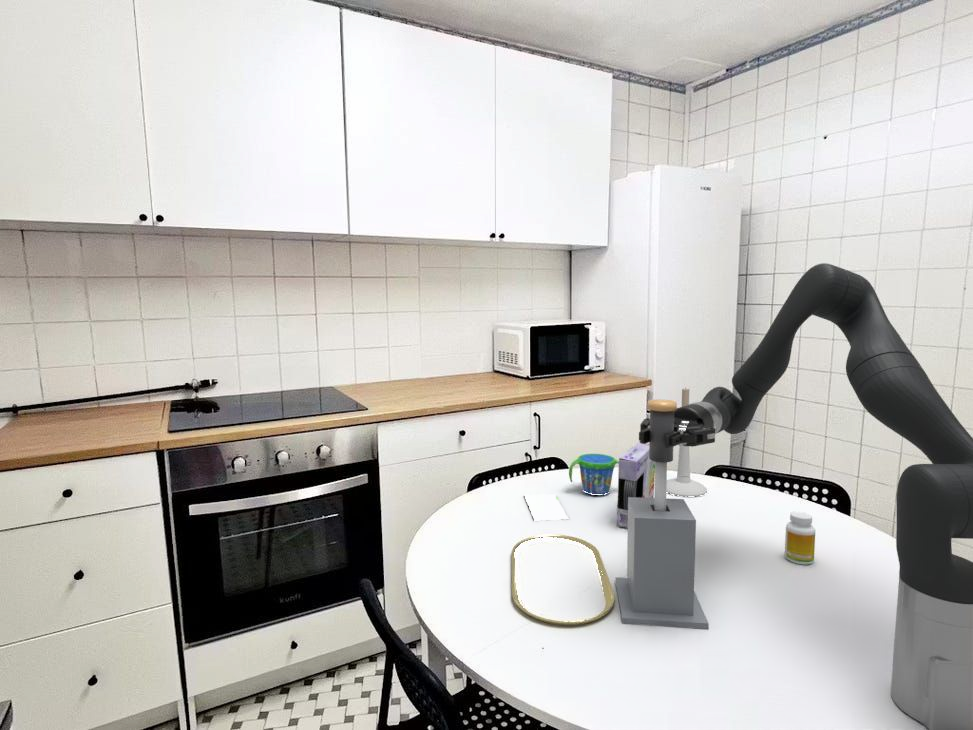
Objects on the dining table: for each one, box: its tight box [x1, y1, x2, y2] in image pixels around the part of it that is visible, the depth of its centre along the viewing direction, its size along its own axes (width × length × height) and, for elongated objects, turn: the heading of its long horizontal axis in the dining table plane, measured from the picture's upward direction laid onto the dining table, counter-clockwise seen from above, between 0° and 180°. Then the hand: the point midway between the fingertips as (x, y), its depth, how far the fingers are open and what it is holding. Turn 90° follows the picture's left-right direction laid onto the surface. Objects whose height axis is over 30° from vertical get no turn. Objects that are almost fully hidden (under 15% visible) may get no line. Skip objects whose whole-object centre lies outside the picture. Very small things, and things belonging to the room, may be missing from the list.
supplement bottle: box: [784, 511, 816, 565], centre depth 115 cm, size 5×5×10 cm
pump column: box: [614, 497, 710, 630], centre depth 98 cm, size 14×14×18 cm
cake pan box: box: [616, 440, 655, 529], centre depth 139 cm, size 19×5×18 cm, turn 148°
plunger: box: [647, 399, 678, 511], centre depth 97 cm, size 5×5×27 cm
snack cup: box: [568, 453, 619, 494], centre depth 157 cm, size 16×10×10 cm
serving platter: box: [511, 534, 616, 627], centre depth 110 cm, size 19×35×2 cm, turn 178°
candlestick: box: [666, 387, 708, 497], centre depth 157 cm, size 13×13×30 cm
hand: (654, 439), depth 94 cm, fingers closed on plunger, 4 cm apart
